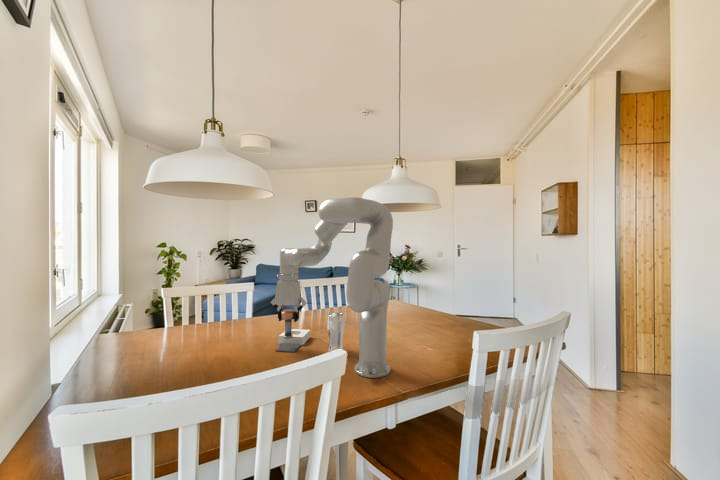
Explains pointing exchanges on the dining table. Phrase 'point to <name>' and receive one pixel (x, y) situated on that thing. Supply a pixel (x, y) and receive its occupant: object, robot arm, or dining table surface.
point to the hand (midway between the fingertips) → (288, 320)
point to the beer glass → (335, 330)
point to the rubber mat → (288, 348)
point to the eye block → (295, 337)
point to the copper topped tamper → (288, 321)
